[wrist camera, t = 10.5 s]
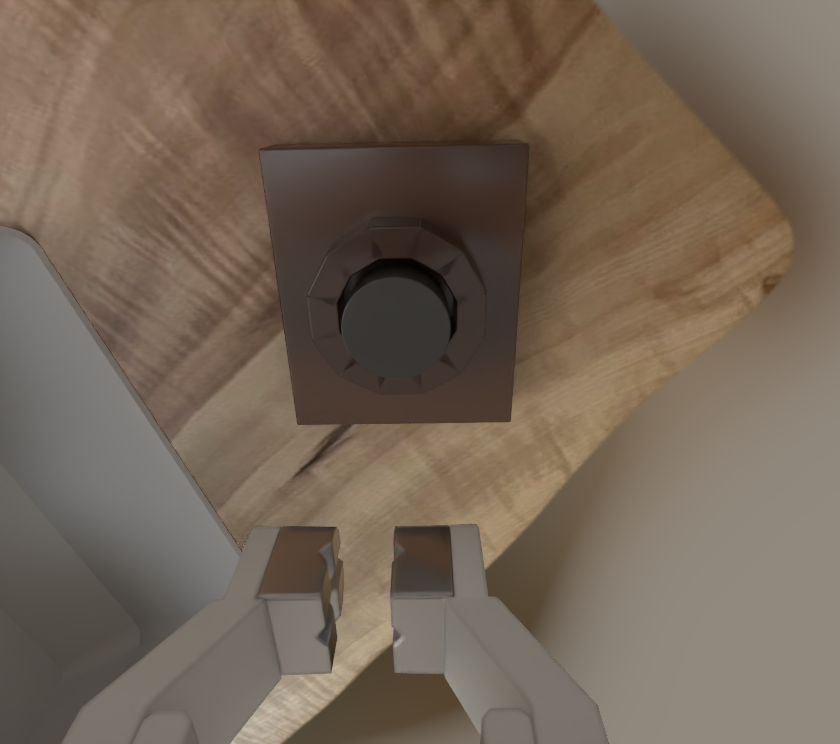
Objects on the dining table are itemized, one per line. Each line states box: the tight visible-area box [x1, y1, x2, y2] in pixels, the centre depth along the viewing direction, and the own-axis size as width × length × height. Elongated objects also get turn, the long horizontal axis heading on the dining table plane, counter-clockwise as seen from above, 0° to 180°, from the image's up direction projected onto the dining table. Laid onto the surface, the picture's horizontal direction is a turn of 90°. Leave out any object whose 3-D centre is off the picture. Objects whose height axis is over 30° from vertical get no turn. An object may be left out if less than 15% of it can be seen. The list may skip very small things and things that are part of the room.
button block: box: [259, 140, 529, 425], centre depth 22 cm, size 12×10×4 cm
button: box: [341, 264, 451, 379], centre depth 20 cm, size 4×4×2 cm
